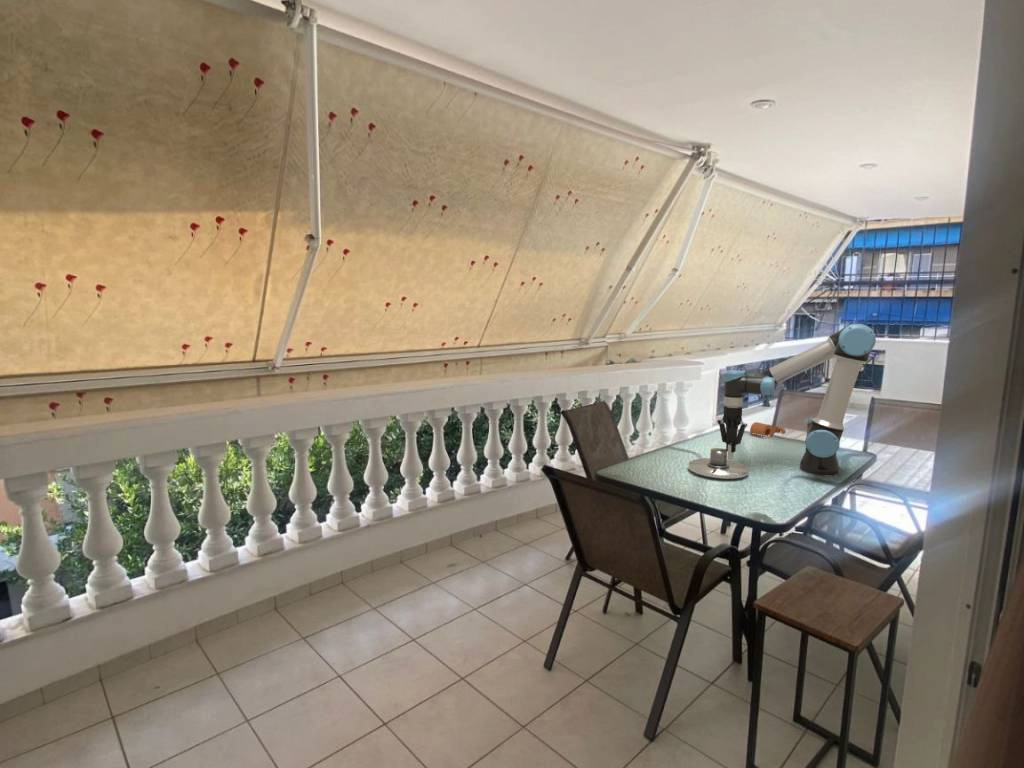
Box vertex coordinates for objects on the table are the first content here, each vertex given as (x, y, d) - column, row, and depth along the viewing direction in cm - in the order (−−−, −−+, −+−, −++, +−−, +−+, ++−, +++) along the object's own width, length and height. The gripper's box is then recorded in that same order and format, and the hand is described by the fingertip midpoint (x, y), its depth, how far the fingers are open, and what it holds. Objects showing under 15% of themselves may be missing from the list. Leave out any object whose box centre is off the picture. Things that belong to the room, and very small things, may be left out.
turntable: (743, 482, 220) (744, 466, 219) (682, 473, 232) (683, 458, 231) (751, 466, 240) (752, 452, 239) (695, 458, 252) (696, 445, 251)
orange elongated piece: (762, 440, 291) (763, 425, 290) (749, 437, 298) (750, 423, 297) (787, 436, 300) (788, 421, 299) (774, 433, 307) (775, 419, 306)
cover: (726, 464, 238) (727, 448, 237) (728, 469, 231) (729, 452, 230) (708, 463, 240) (708, 447, 239) (709, 468, 233) (710, 451, 232)
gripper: (751, 407, 236) (748, 460, 239) (723, 403, 246) (721, 454, 249) (742, 409, 231) (739, 463, 234) (714, 405, 241) (712, 457, 244)
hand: (730, 458), depth 242 cm, fingers closed
